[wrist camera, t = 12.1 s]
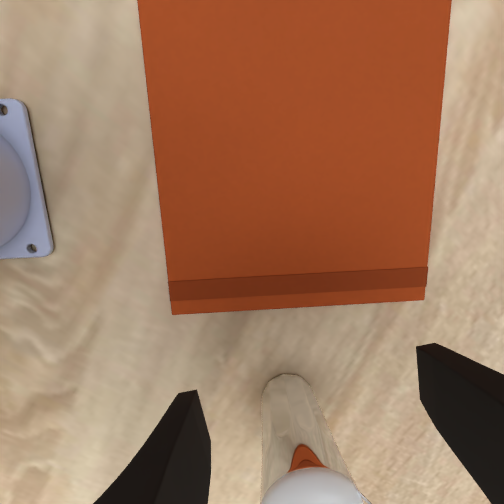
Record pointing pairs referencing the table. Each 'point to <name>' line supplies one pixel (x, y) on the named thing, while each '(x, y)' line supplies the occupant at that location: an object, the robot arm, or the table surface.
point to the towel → (295, 148)
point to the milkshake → (300, 449)
